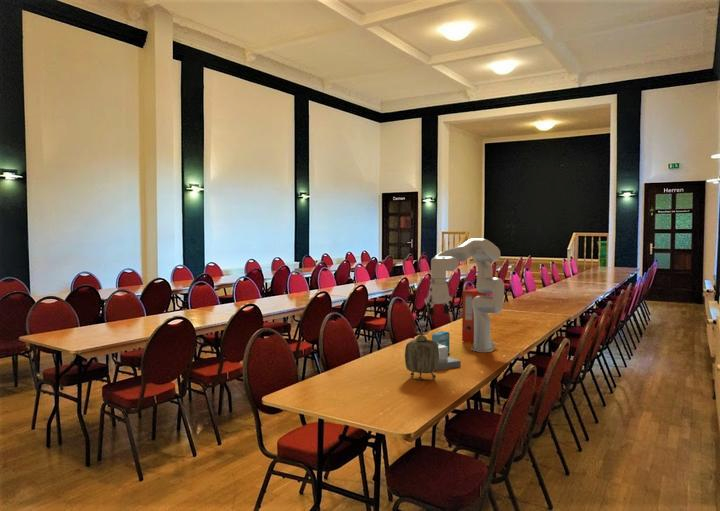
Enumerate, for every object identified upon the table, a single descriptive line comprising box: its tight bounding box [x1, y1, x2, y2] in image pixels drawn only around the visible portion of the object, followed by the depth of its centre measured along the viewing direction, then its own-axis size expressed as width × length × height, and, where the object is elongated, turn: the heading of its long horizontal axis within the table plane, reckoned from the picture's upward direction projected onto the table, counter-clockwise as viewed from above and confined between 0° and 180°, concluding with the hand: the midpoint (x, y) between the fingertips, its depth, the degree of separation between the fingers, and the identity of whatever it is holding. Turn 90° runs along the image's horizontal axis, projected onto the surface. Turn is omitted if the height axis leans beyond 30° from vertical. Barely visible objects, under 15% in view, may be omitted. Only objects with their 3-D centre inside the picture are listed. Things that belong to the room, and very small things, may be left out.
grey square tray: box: [434, 356, 461, 371], centre depth 271 cm, size 16×16×3 cm
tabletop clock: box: [404, 325, 439, 381], centre depth 246 cm, size 14×9×25 cm, turn 66°
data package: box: [431, 330, 450, 352], centre depth 295 cm, size 12×4×12 cm, turn 140°
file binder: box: [461, 287, 487, 344], centre depth 329 cm, size 8×17×32 cm, turn 142°
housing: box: [437, 343, 449, 361], centre depth 271 cm, size 9×5×8 cm, turn 29°
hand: (438, 314), depth 271 cm, fingers open, 9 cm apart
